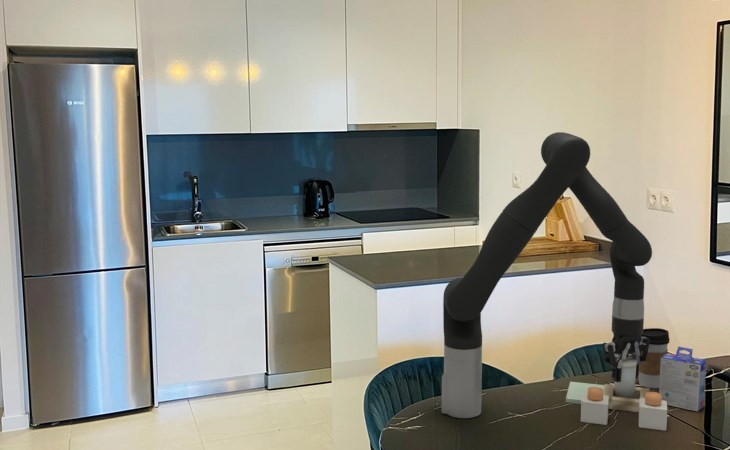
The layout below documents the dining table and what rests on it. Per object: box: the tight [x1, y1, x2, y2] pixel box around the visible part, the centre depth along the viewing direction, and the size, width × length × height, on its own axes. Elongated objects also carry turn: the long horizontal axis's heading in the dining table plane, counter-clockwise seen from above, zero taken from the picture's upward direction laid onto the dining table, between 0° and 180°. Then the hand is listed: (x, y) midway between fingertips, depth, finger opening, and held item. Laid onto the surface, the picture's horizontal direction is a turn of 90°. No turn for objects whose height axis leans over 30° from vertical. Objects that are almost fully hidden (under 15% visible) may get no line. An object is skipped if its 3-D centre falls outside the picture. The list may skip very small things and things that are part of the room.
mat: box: [565, 381, 605, 405], centre depth 193 cm, size 9×13×1 cm
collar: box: [603, 383, 651, 413], centre depth 187 cm, size 11×11×2 cm
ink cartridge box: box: [658, 346, 707, 412], centre depth 185 cm, size 10×6×14 cm, turn 53°
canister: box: [613, 355, 637, 398], centre depth 187 cm, size 5×5×10 cm
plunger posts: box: [580, 393, 668, 431], centre depth 176 cm, size 19×7×5 cm, turn 70°
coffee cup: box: [638, 327, 671, 389], centre depth 199 cm, size 8×8×15 cm
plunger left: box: [587, 387, 603, 400], centre depth 177 cm, size 4×4×6 cm
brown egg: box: [645, 391, 662, 406], centre depth 174 cm, size 4×4×6 cm
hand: (625, 379), depth 188 cm, fingers closed on canister, 5 cm apart
